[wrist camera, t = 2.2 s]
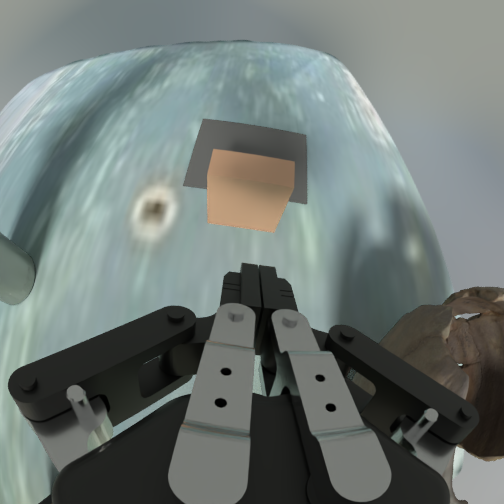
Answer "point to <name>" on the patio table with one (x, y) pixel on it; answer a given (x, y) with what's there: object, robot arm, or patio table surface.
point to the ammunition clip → (47, 500)
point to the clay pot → (459, 361)
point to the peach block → (248, 189)
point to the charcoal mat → (248, 150)
